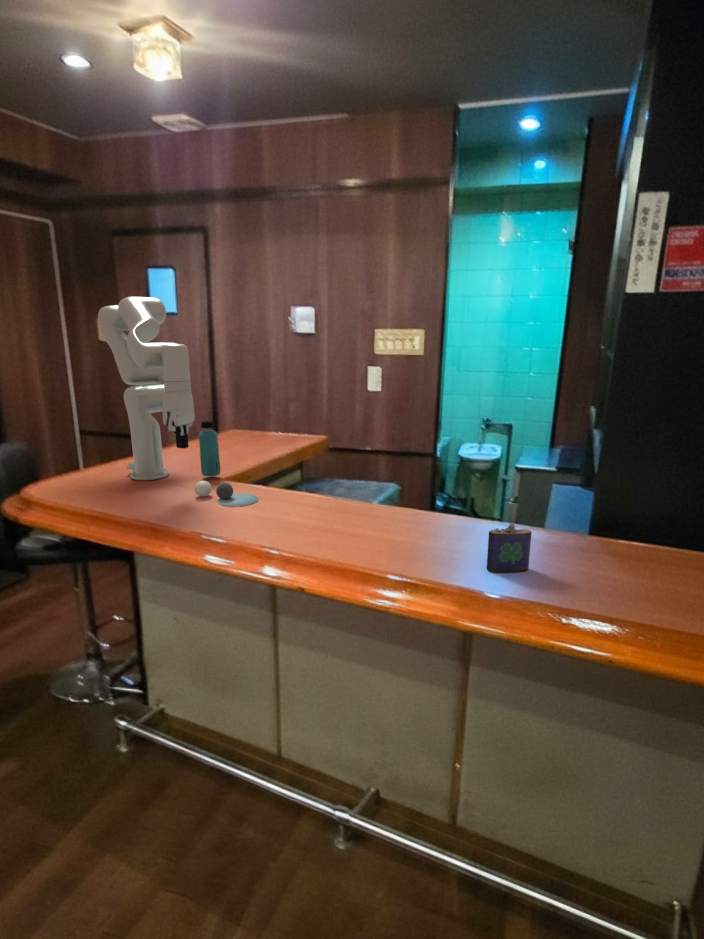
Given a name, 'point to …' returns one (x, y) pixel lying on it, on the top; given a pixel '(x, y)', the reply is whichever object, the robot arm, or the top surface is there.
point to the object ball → (224, 491)
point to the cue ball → (203, 488)
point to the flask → (508, 550)
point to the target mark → (239, 500)
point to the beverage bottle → (209, 450)
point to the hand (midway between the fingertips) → (182, 447)
